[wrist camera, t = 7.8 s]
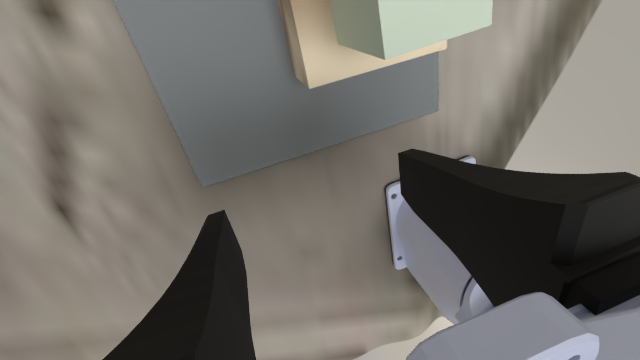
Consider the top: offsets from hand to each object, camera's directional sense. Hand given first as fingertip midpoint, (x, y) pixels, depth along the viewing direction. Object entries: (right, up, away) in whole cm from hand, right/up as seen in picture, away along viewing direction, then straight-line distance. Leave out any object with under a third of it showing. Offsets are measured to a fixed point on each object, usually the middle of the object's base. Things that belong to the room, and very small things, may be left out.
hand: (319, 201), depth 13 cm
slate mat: (-1, +9, +6) cm, 11 cm away
